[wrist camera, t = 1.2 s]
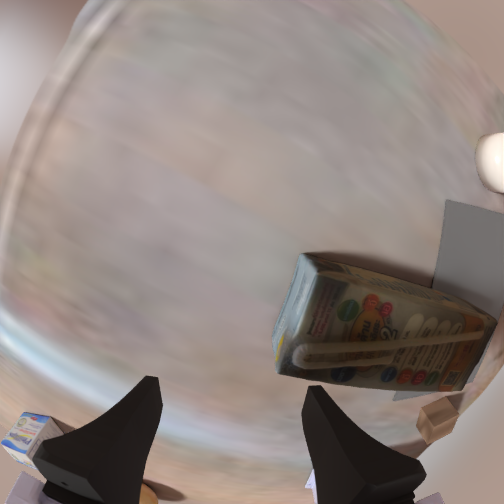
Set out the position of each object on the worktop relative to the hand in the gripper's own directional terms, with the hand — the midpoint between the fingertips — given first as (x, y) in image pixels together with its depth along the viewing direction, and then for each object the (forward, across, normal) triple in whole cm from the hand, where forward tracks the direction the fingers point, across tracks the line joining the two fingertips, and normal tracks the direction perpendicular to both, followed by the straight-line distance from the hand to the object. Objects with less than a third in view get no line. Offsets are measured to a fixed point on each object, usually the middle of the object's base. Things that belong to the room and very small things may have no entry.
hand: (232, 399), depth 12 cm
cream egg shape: (+11, -25, -15) cm, 31 cm away
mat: (+10, -25, +1) cm, 27 cm away
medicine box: (+11, +29, +25) cm, 40 cm away
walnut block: (+10, -26, +16) cm, 32 cm away
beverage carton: (+10, -13, +1) cm, 17 cm away
